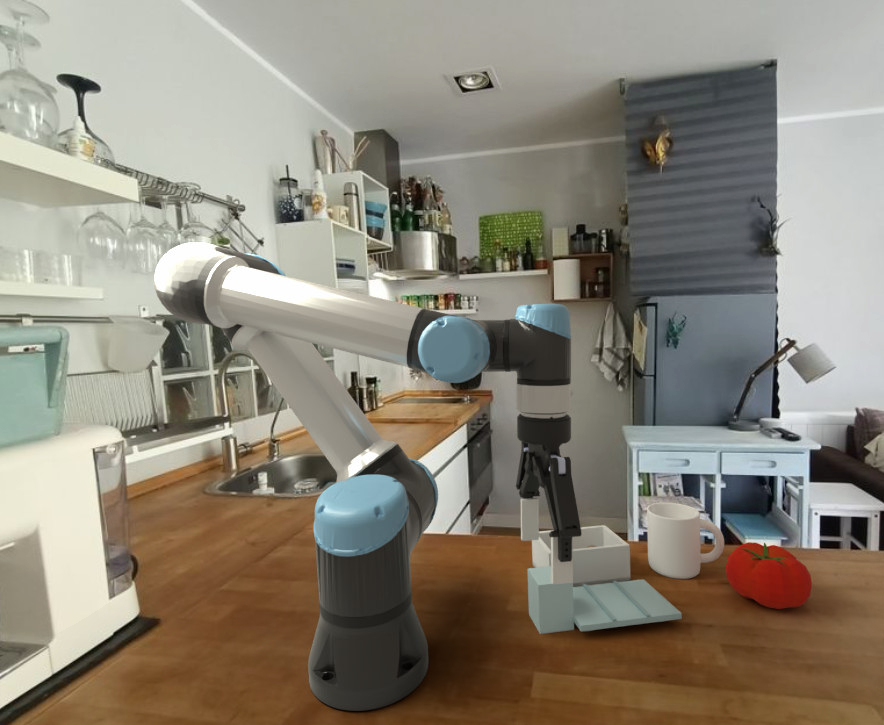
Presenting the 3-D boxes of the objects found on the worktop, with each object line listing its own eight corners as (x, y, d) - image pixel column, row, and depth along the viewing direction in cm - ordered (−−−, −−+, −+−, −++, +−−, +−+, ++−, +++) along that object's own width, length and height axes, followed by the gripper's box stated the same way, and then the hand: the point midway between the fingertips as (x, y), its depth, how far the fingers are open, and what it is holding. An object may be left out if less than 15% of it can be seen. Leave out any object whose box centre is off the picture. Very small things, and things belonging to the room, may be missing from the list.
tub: (630, 580, 82) (629, 545, 81) (550, 589, 80) (548, 553, 80) (605, 556, 91) (604, 525, 90) (532, 564, 89) (531, 532, 88)
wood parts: (609, 573, 83) (608, 556, 83) (579, 576, 82) (579, 559, 82) (596, 560, 88) (595, 543, 88) (568, 563, 87) (567, 546, 87)
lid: (681, 627, 68) (680, 578, 68) (545, 644, 66) (544, 594, 65) (643, 591, 78) (642, 548, 78) (524, 605, 76) (522, 561, 75)
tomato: (725, 576, 82) (725, 532, 81) (807, 590, 76) (806, 544, 76) (725, 607, 73) (724, 558, 72) (817, 627, 67) (817, 574, 67)
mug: (718, 562, 87) (718, 505, 86) (731, 585, 79) (730, 522, 78) (646, 555, 90) (644, 501, 90) (650, 577, 82) (649, 517, 82)
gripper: (610, 428, 58) (609, 603, 59) (540, 400, 82) (540, 524, 83) (548, 431, 57) (549, 608, 58) (496, 402, 81) (498, 527, 83)
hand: (544, 559), depth 71 cm, fingers open, 13 cm apart
